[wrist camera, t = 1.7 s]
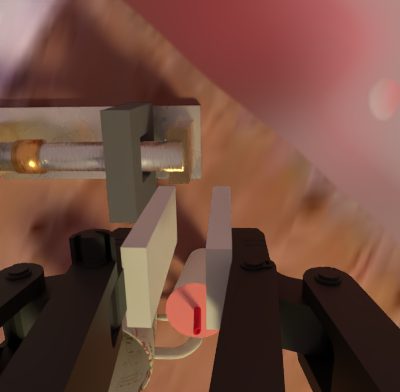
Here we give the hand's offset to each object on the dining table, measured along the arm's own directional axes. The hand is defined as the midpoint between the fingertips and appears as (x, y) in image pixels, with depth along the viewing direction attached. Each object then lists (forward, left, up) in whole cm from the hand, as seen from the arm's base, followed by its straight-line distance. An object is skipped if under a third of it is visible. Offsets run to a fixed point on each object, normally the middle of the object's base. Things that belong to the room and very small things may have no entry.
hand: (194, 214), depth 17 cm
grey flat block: (-6, 0, -17) cm, 18 cm away
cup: (-1, -13, -21) cm, 24 cm away
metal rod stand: (-11, 0, -20) cm, 23 cm away
